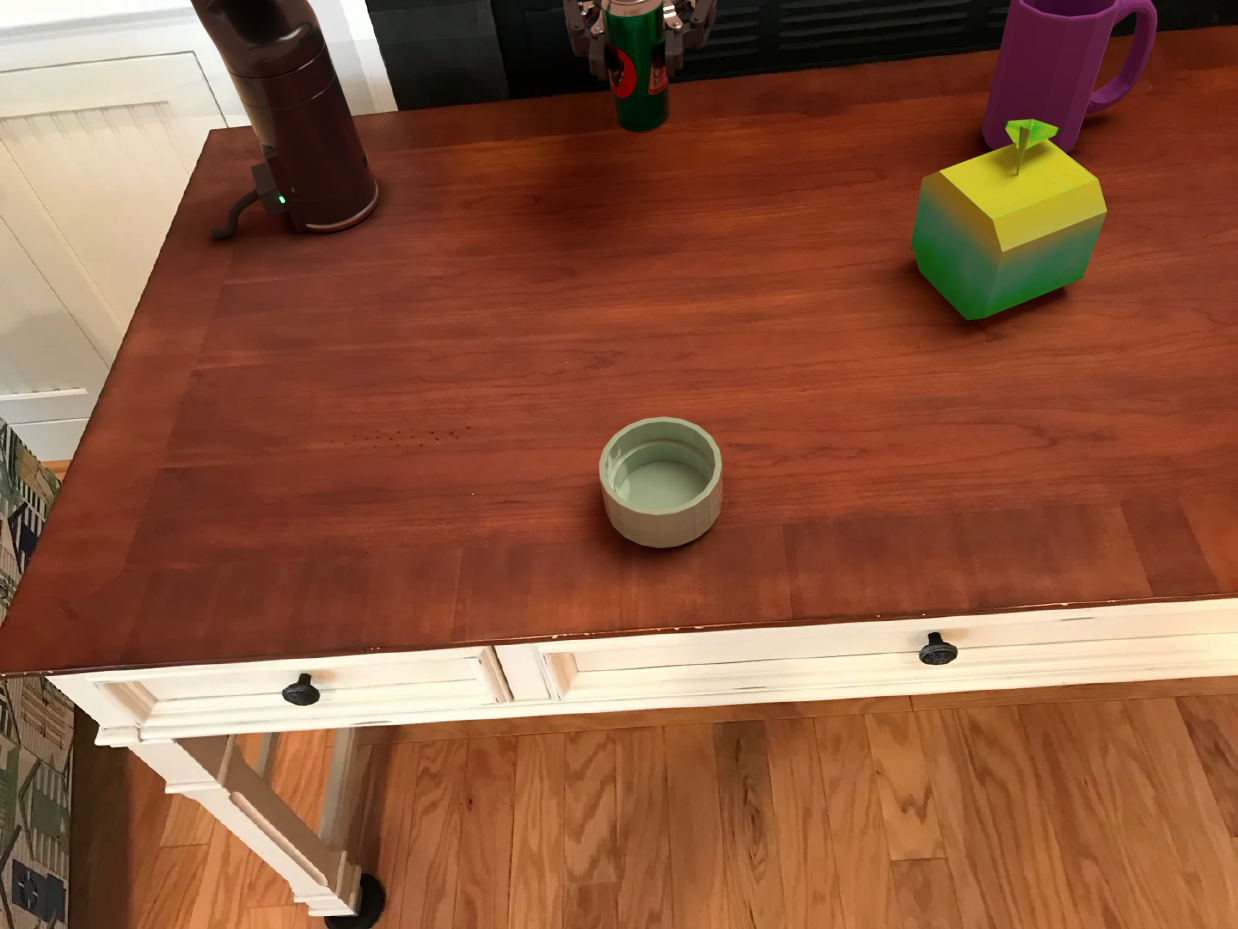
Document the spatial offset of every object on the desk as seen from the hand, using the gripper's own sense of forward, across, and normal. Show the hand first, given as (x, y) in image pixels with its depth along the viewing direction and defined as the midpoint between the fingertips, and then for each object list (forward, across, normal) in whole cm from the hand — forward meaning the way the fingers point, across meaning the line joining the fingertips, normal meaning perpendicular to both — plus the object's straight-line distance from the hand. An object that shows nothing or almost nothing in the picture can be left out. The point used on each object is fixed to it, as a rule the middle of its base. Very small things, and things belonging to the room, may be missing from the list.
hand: (635, 68), depth 81 cm
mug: (-13, +41, +18) cm, 46 cm away
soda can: (-3, 0, +7) cm, 7 cm away
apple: (+8, +31, +18) cm, 36 cm away
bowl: (+32, +2, +17) cm, 36 cm away
